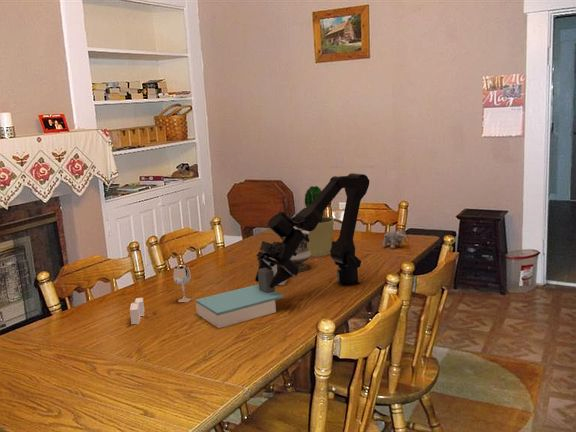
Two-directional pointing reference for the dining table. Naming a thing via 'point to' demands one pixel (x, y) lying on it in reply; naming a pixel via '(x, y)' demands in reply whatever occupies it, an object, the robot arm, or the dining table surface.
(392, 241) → the gray elephant figurine
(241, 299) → the lid
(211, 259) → the dining table surface
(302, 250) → the apothecary jar
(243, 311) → the carton
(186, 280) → the wineglass
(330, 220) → the potted cactus
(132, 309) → the napkin holder
